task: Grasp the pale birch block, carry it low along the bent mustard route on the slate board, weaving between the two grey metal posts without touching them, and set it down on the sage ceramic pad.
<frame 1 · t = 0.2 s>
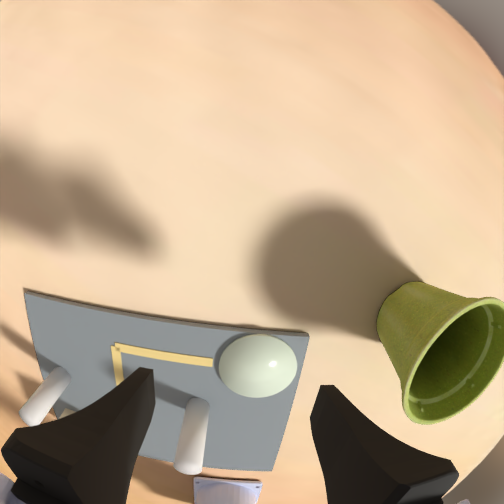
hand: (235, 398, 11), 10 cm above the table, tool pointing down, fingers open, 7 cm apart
board: (152, 401, 23), on the table
pad: (257, 362, 22), resting on board
plant pot: (406, 313, 22), on the table
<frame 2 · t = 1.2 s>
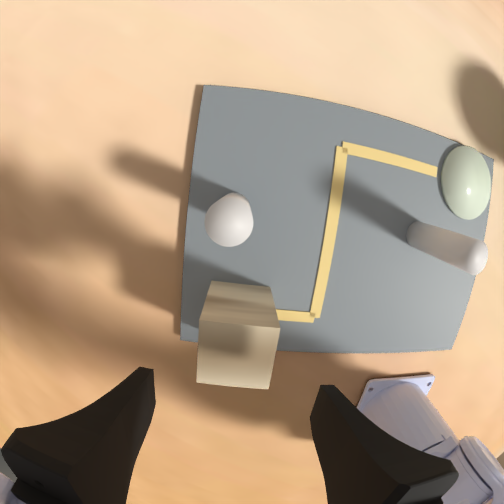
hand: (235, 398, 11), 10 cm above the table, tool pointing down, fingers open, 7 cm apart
block: (237, 310, 21), point 1 cm above the table, touching board
board: (363, 238, 20), on the table
pad: (462, 182, 19), resting on board
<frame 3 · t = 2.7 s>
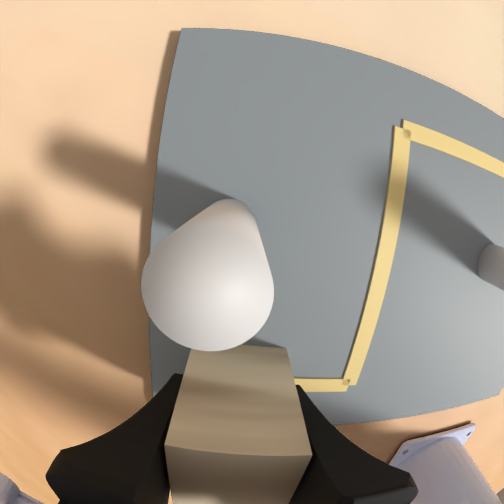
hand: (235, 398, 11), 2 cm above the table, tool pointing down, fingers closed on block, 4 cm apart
block: (235, 380, 13), point 1 cm above the table, touching board, gripper
board: (423, 270, 12), on the table
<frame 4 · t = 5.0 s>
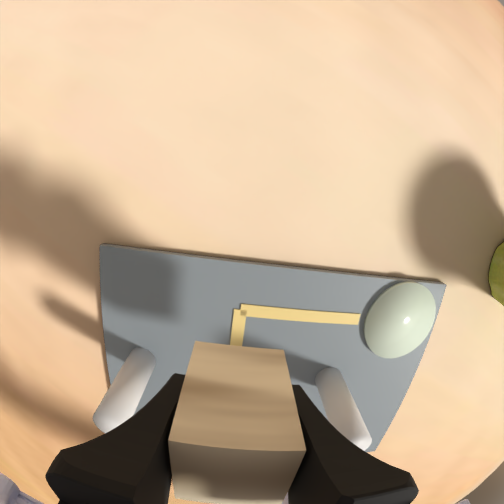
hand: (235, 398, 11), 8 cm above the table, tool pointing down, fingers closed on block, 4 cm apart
block: (235, 380, 13), point 6 cm above the table, touching gripper
board: (268, 381, 21), on the table
pad: (397, 317, 20), resting on board
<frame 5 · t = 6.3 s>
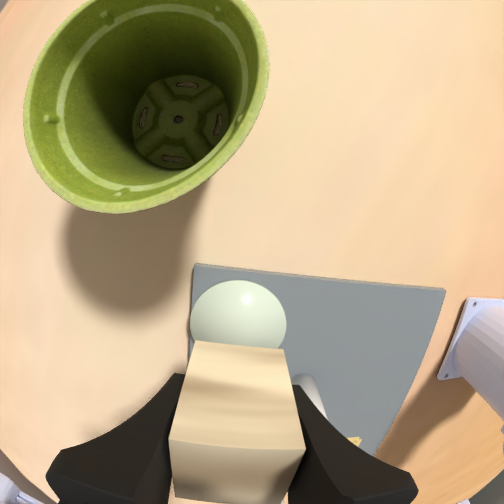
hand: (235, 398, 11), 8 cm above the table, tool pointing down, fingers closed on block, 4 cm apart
block: (235, 379, 13), point 6 cm above the table, touching gripper
board: (300, 418, 21), on the table
pad: (238, 320, 19), resting on board
plant pot: (179, 121, 16), on the table
when the fingers open (4 cm above the table, at t = 7.3 s): block stays where it is, resting on pad.
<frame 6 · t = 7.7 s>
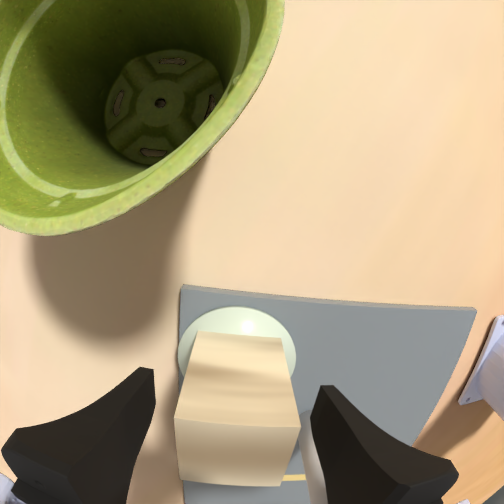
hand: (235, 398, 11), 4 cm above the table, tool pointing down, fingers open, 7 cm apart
block: (236, 367, 14), point 1 cm above the table, touching pad
board: (308, 452, 17), on the table
pad: (236, 352, 15), resting on board
plant pot: (162, 106, 12), on the table
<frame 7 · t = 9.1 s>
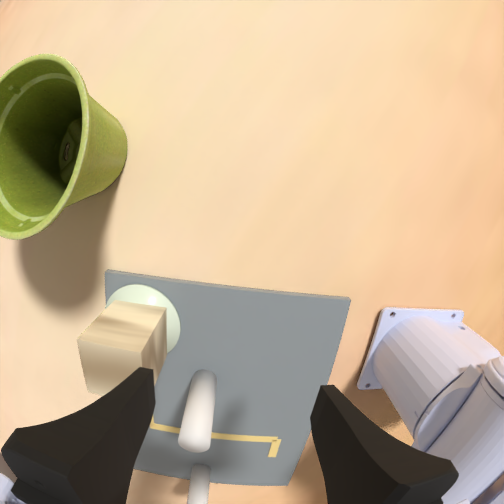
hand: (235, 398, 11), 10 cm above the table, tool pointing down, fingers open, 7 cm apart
block: (140, 328, 20), point 1 cm above the table, touching pad
board: (215, 411, 23), on the table
pad: (144, 318, 21), resting on board
plant pot: (92, 153, 18), on the table
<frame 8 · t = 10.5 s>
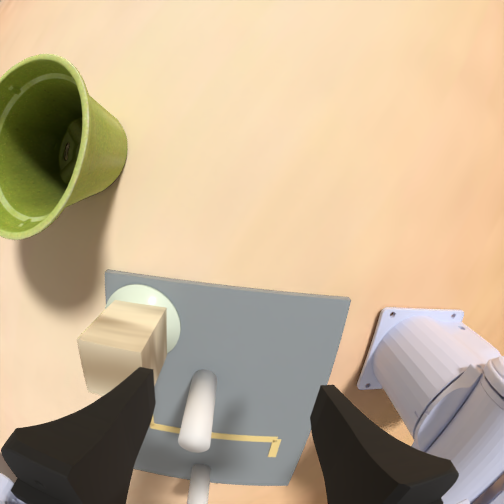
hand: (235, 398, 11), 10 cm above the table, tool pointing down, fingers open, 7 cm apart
block: (140, 328, 20), point 1 cm above the table, touching pad
board: (215, 411, 23), on the table
pad: (144, 318, 21), resting on board
plant pot: (92, 153, 18), on the table
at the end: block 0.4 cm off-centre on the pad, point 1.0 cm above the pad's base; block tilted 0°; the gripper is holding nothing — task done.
